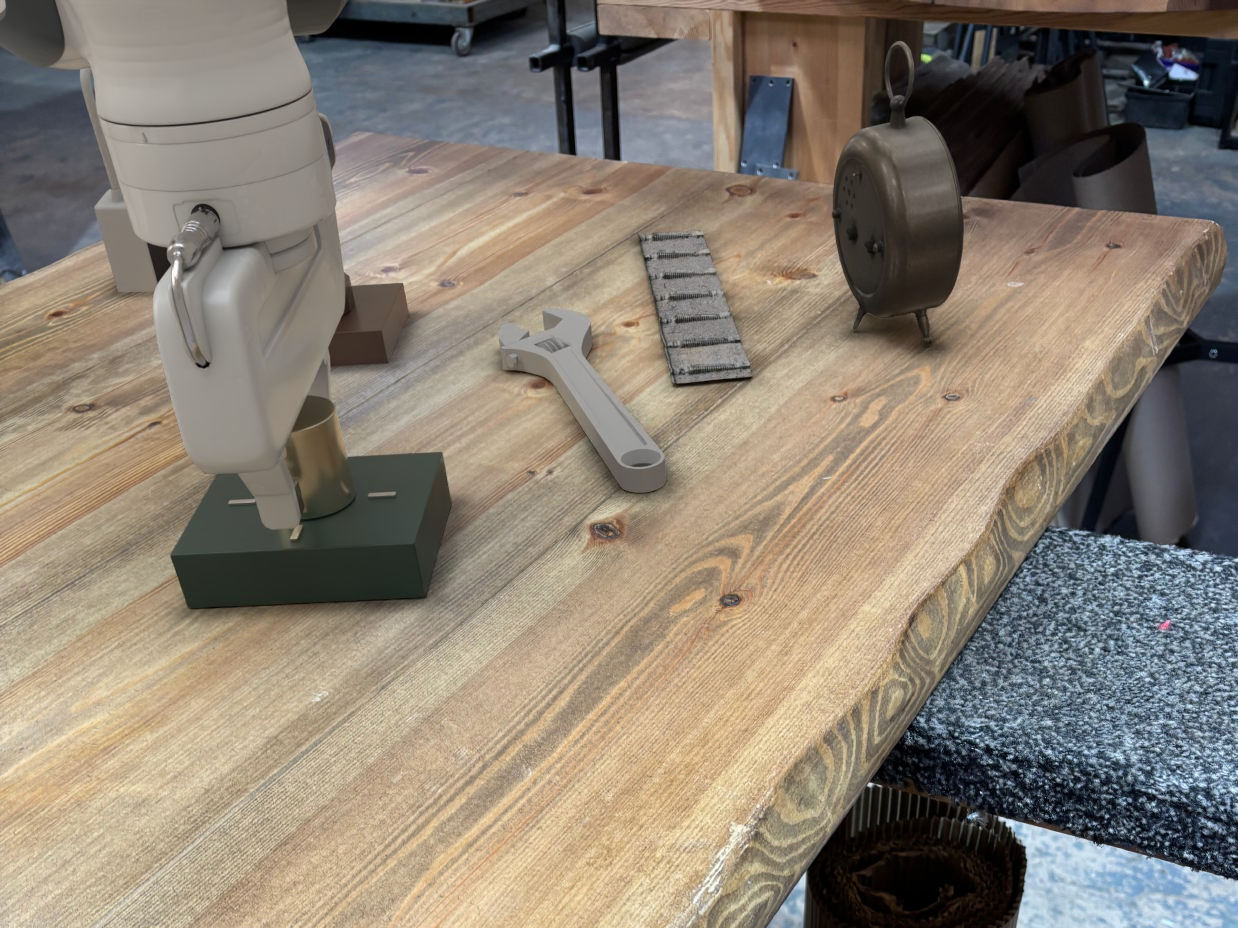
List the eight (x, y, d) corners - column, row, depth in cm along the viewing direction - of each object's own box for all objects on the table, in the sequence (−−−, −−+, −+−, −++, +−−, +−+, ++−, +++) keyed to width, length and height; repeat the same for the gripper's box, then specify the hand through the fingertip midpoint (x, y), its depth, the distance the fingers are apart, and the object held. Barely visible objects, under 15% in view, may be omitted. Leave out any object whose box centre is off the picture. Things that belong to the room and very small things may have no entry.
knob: (280, 481, 69) (256, 390, 66) (363, 477, 69) (342, 386, 66) (258, 521, 66) (231, 428, 63) (345, 518, 66) (322, 424, 62)
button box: (211, 373, 89) (193, 312, 86) (244, 323, 96) (228, 265, 93) (388, 363, 88) (375, 301, 86) (409, 314, 95) (398, 255, 92)
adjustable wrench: (674, 490, 73) (672, 459, 71) (559, 510, 72) (556, 479, 71) (584, 328, 91) (581, 302, 89) (491, 343, 90) (487, 316, 89)
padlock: (163, 291, 102) (95, 66, 92) (112, 292, 102) (39, 68, 92) (196, 261, 107) (135, 44, 96) (148, 262, 107) (81, 47, 97)
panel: (187, 609, 66) (167, 551, 64) (237, 513, 74) (221, 459, 71) (425, 598, 66) (413, 539, 63) (452, 502, 73) (442, 448, 71)
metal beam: (701, 237, 105) (637, 239, 104) (701, 224, 104) (636, 227, 104) (753, 380, 83) (671, 384, 82) (753, 365, 82) (671, 370, 82)
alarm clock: (959, 349, 84) (985, 53, 73) (880, 363, 83) (895, 66, 72) (889, 293, 92) (903, 19, 81) (816, 306, 91) (820, 30, 80)
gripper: (247, 248, 49) (332, 578, 59) (336, 111, 65) (392, 391, 74) (80, 260, 50) (191, 587, 59) (208, 120, 65) (280, 399, 74)
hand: (303, 477), depth 67 cm, fingers open, 8 cm apart
